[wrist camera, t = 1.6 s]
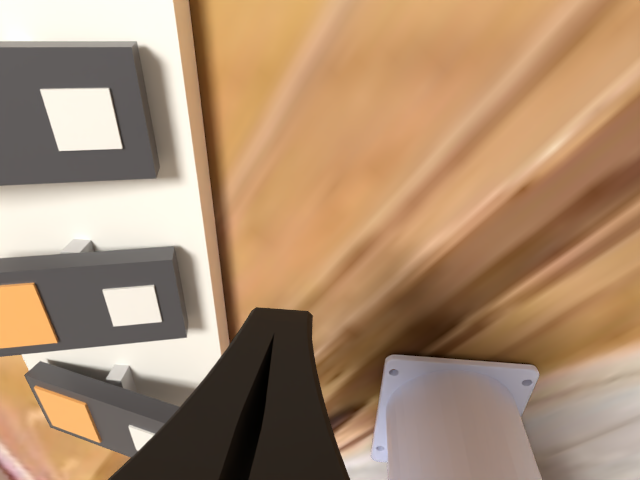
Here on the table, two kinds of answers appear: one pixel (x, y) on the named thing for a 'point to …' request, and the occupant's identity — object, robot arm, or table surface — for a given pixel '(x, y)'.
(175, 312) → the rocker middle
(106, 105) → the rocker near
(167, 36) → the switch strip
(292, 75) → the table surface
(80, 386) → the rocker far
